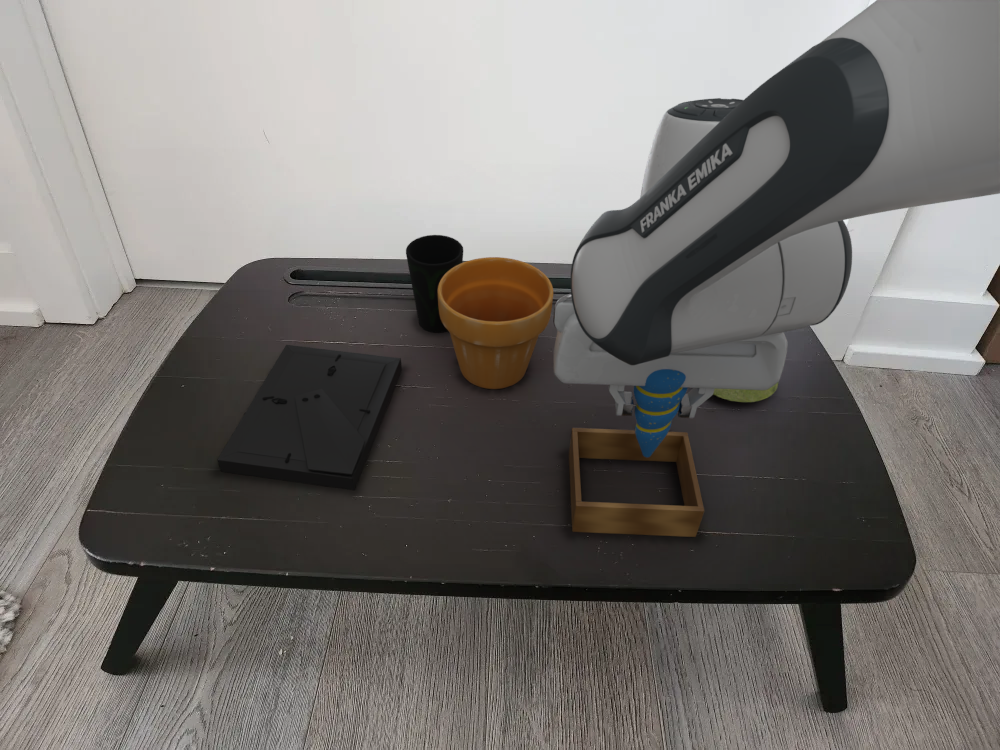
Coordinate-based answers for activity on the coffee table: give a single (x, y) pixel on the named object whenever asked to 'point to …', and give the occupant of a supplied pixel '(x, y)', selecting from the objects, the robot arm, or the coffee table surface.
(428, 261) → the cup
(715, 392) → the green flat round disc
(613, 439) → the wooden box
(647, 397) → the ornament
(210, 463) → the coffee table surface
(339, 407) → the picture frame
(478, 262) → the flower pot
